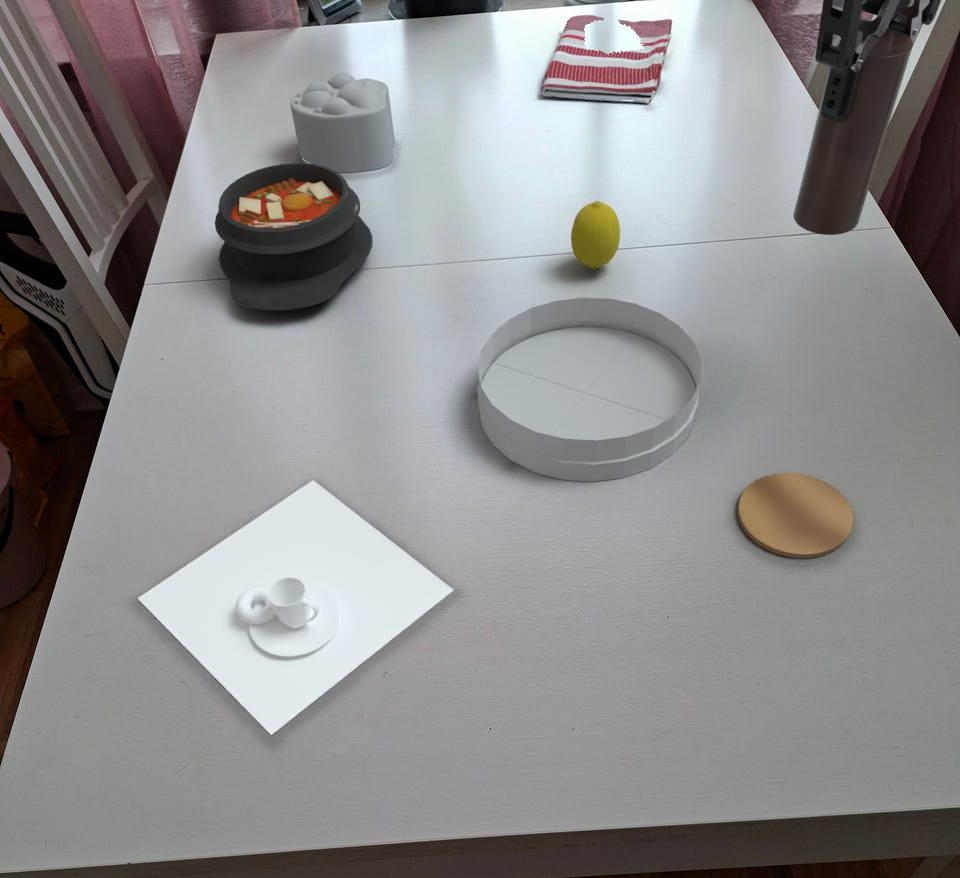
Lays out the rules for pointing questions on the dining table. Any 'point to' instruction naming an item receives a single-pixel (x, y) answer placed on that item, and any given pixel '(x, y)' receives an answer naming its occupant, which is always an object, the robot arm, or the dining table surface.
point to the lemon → (595, 234)
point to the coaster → (795, 515)
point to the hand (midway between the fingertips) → (857, 103)
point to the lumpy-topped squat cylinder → (344, 124)
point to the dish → (588, 388)
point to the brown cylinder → (852, 142)
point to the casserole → (290, 236)
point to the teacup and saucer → (293, 603)
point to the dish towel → (607, 64)
